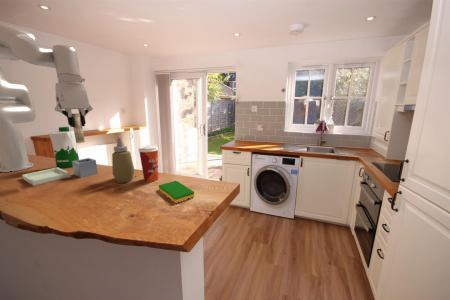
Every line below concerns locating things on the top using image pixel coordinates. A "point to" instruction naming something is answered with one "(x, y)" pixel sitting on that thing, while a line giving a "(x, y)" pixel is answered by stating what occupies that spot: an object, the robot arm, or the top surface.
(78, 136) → the dowel
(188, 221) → the top surface
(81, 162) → the holder
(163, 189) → the dish sponge
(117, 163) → the squeeze bottle
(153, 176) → the paper cup
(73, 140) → the milk carton
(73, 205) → the top surface
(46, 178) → the tray
